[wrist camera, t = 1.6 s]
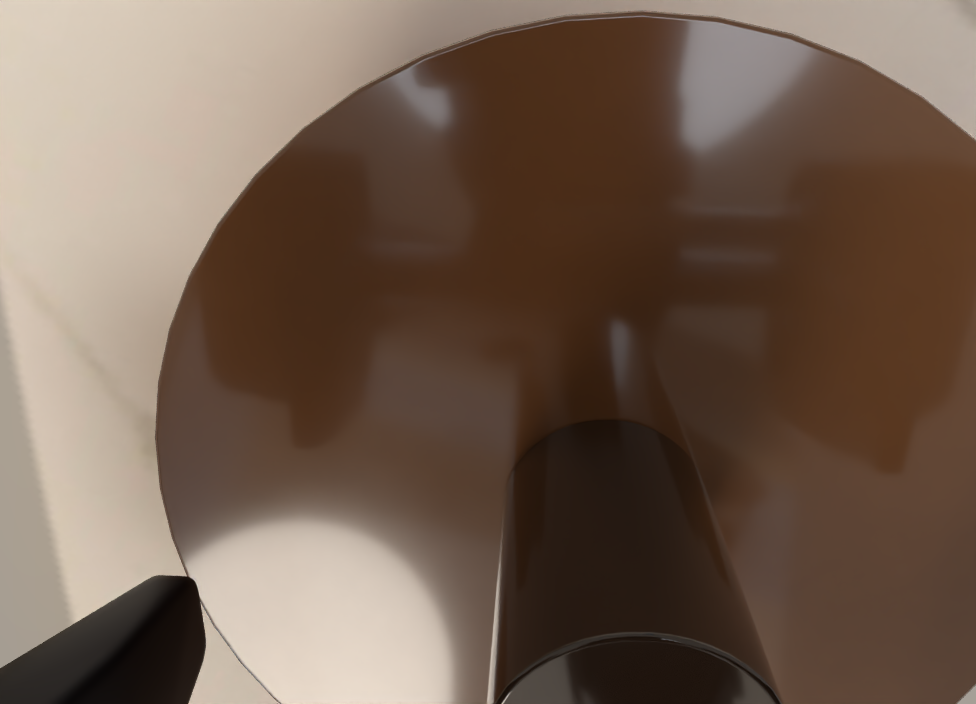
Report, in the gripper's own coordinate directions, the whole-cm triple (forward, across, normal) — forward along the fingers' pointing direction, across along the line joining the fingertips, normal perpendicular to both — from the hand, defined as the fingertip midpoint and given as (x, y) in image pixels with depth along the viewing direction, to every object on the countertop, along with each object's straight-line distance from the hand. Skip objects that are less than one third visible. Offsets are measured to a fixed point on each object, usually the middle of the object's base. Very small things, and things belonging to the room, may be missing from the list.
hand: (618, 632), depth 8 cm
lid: (+3, 0, 0) cm, 3 cm away
